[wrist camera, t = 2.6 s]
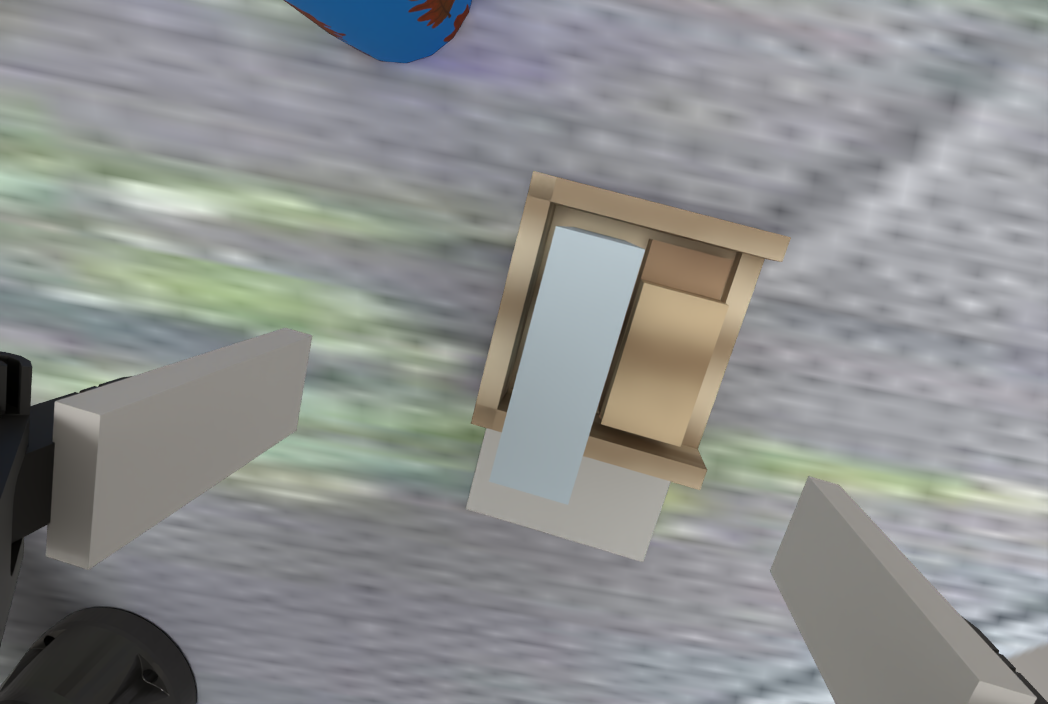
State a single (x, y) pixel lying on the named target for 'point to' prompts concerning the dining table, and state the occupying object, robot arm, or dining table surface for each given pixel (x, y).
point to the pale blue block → (565, 361)
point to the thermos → (388, 24)
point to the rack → (635, 224)
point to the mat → (578, 504)
